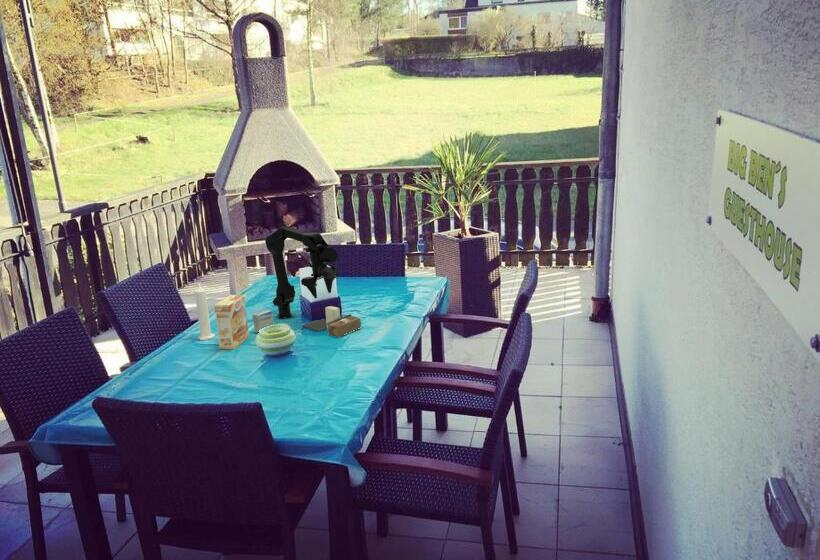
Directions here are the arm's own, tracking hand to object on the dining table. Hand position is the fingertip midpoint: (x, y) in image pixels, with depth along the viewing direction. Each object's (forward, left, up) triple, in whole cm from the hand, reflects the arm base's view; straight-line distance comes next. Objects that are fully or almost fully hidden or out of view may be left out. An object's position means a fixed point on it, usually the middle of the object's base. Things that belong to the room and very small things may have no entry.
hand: (322, 295), depth 301 cm
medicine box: (-5, -27, -14) cm, 31 cm away
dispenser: (+14, +6, -14) cm, 20 cm away
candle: (-8, -52, -14) cm, 54 cm away
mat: (0, -2, -14) cm, 14 cm away
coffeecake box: (+5, -41, -14) cm, 43 cm away
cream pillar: (+8, +2, -14) cm, 16 cm away
